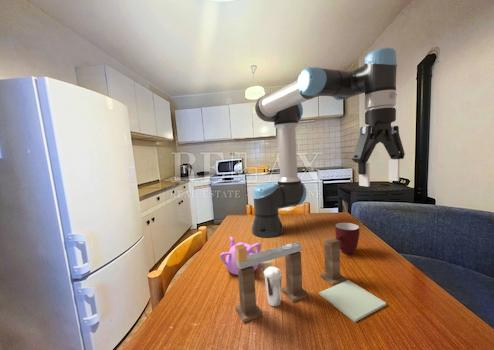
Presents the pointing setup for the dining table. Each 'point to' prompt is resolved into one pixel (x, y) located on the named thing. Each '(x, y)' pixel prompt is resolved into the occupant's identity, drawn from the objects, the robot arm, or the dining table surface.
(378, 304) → the mat
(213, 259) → the dining table surface
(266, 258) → the bar
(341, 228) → the mug
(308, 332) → the dining table surface
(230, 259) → the teapot
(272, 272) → the milkshake
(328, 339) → the dining table surface
